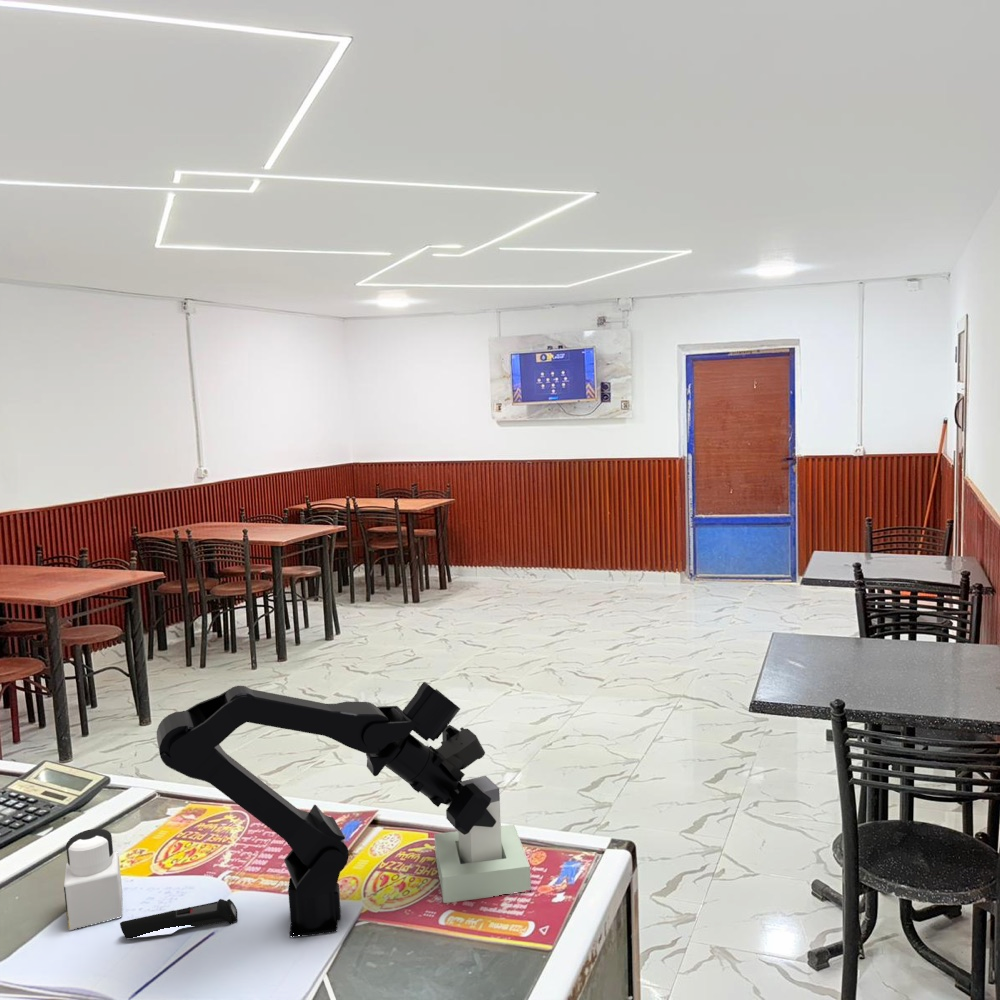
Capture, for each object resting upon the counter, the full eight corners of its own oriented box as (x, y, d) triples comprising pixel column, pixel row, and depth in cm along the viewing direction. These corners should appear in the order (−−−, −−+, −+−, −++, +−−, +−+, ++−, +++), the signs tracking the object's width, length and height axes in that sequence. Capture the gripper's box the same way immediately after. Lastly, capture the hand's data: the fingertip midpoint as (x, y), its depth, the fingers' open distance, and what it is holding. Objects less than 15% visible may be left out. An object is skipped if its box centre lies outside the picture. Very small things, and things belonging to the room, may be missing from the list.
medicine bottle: (70, 906, 132) (62, 830, 130) (122, 893, 134) (115, 819, 133) (68, 932, 125) (59, 852, 124) (122, 918, 128) (115, 840, 126)
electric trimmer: (123, 934, 125) (121, 913, 124) (237, 910, 129) (235, 890, 129) (120, 950, 121) (118, 929, 121) (237, 925, 125) (235, 904, 125)
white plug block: (472, 871, 132) (468, 795, 131) (459, 856, 137) (456, 782, 135) (502, 862, 134) (499, 787, 133) (488, 848, 139) (485, 775, 137)
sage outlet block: (443, 903, 128) (442, 877, 128) (435, 857, 141) (434, 833, 141) (531, 891, 130) (530, 866, 130) (515, 847, 143) (514, 824, 143)
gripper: (475, 739, 122) (547, 797, 128) (427, 699, 139) (493, 752, 145) (424, 806, 120) (500, 861, 126) (382, 757, 137) (451, 808, 143)
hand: (486, 816), depth 135 cm, fingers closed on white plug block, 5 cm apart
